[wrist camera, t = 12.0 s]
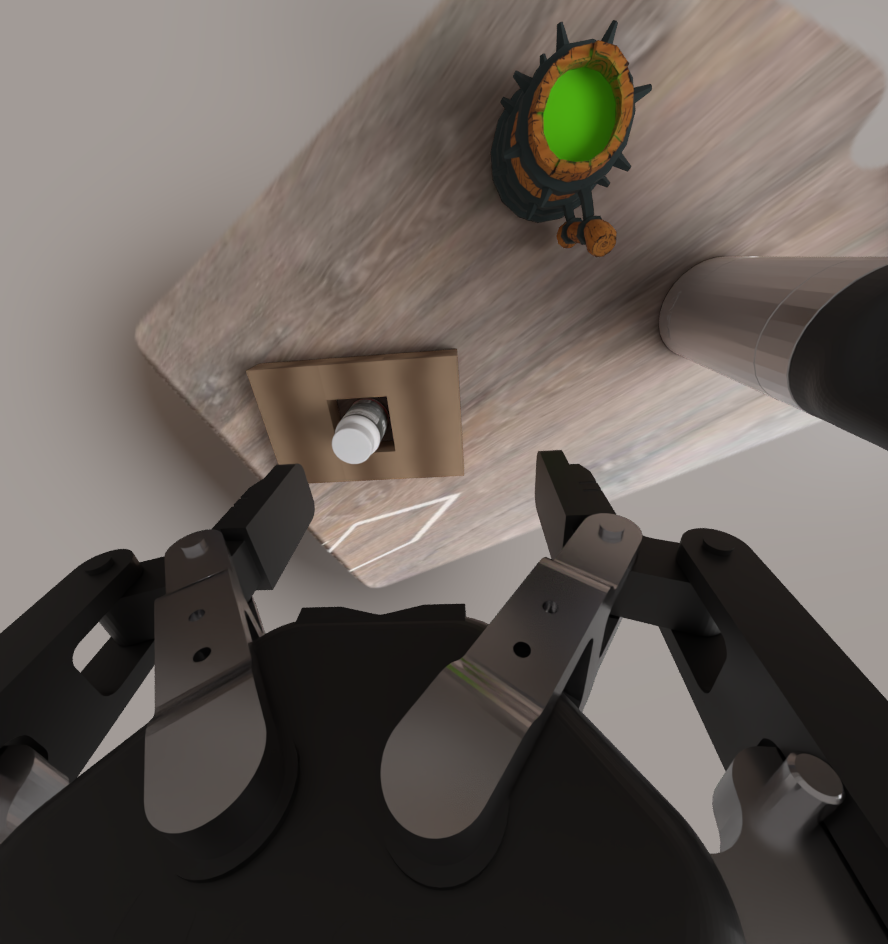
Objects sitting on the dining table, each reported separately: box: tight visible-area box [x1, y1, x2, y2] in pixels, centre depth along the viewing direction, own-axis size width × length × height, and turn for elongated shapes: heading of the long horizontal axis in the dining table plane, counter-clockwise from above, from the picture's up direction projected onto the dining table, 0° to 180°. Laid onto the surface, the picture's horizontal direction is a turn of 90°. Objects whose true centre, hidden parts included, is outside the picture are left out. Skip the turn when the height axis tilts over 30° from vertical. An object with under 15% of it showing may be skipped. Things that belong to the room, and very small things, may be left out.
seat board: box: [246, 349, 464, 483], centre depth 43 cm, size 22×14×3 cm, turn 95°
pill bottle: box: [332, 398, 389, 464], centre depth 40 cm, size 5×5×8 cm
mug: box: [491, 20, 652, 257], centre depth 27 cm, size 13×10×12 cm
